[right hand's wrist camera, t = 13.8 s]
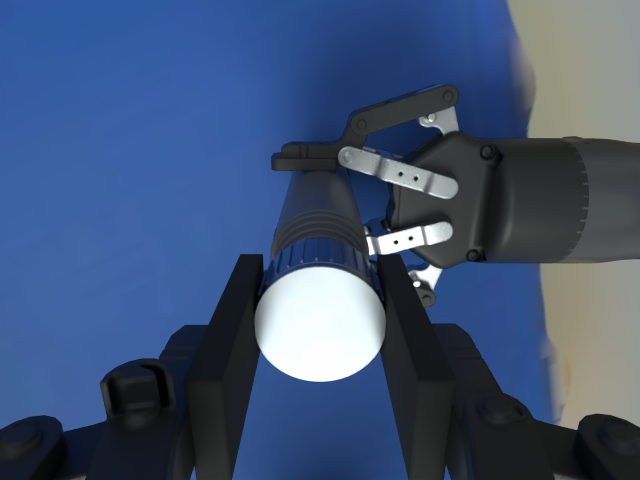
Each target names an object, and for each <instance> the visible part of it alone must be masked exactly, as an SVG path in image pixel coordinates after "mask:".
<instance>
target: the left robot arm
mask: <svg viewBox="0 0 640 480" xmlns="http://www.w3.org/2000/svg"><path fill="white" fill-rule="evenodd" d="M458 99H459V92H458V90H457V88H456V87H454V86H453V85H442V84H435V85H432V86H429V87H426V88H423V89H420V90H416V91H413V92H410V93H407V94H404V95H401V96H398V97H395V98H392V99H389V100H386V101H383V102H380V103H377V104H374V105H371V106H368V107H365V108H361V109H358V110H355V111H353V112H352V113H351V114H350V115H349V117H348V122H347V125H346V127H345V130H344V132H343V135H342V136H341V137H340V138H339V139H338V140H336V141H333V142H290V143H287V144H285V145H283V146H282V148H281V152H279V153H274V154H273V155H272V157H271V166H272V170H275V171H336V166H343V167H345V168H348V169H352V170H355V171H358V172H362V173H365V174H369V175H372V176H374V177H376V178H378V179H381V180H384V181H387V182H388V188H389V193H390V200H389V203H388V206H387V209H386V216H382V217H378V218H375V219H372V220H370V221H368V222H367V223H365V224H363V228H364V231H365V235H366V238H367V241H368V246H369V254H370V255H373V254H377V255H378V254H390V253H394V252H398V251H401V250H405V249H409V250H410V251H412V252H413V253H415V254H416V255H417V256H419V257H420V258H422V259H423V260H424V261H425V262H424V263H423V264H421V265H408V266H407V267H406V269H407V271H408V274H409V276H410V278H411V280H412V282H413V285H414V287H415V289H416V291H417V293H418V296H419V298H420V300H421V302H422V304H423V307H424V308H427V307H430V306H432V305H433V304H434V303H435V301H436V297H435V294H434V292H433V289H434V287H435V285H436V283H437V281H438V278H439V276H440V274H441V272H442V270H443V269H447V268H451V267H453V266H455V265H457V264H460V263H463V262H479V263H602V262H610V261H617V260H627V259H640V143H631V142H624V141H617V140H610V139H593V138H586V139H585V138H580V137H576V136H572V137H563V138H475V137H472V136H470V135H469V134H467V133H465V132H463V131H460V130H459V128H458V122H457V117H456V112H455V107H454V105H455V104H456V103H457V101H458ZM414 119H416V122H417V123H418V124H420V125H422V126H424V127H436V128H437V129H438V131H439V134H437V135H436V136H434V137H433V138H431V139H430V140H428V141H427V142H425V143H424V144H423V145H421V146H420V147H418V148H417V149H415V150H414V151H412V152H411V153H409V154H408V155H407V156H405V157H404V156H400V155H397V154H394V153H390V152H387V151H384V150H380V149H374V148H370V147H367V146H364V143H365V141H366V138H367V136H368V134H370V133H373V132H376V131H380V130H383V129H386V128H389V127H392V126H395V125H398V124H401V123H405V122H408V121H411V120H414ZM387 225H388V226H387ZM276 229H277V228H276ZM275 232H276V230H275ZM274 236H275V233H274ZM395 240H396V241H395ZM369 263H370V265H373V267H374V271H375V274H376V275H377V261H374V260H370V259H369Z"/></svg>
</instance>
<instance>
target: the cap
mask: <svg viewBox="0 0 640 480" xmlns="http://www.w3.org/2000/svg"><path fill="white" fill-rule="evenodd" d="M258 296H259V297H258V300H257V304H256V308H255V312H254V325H255V339H256V342H257V344H258V346H259V348H260V350H261V352H262V353H263V355H264V356H265V357H266V359H267V360H268V361H269V362H270V363H271V364H272V365H274V366H275V367H276V368H277V369H279V370H280V371H282V372H284V373H285V374H288V375H290V376H292V377H295V378H298V379H301V380H306V381H313V382H327V381H334V380H339V379H343V378H345V377H348V376H351V375H353V374H355V373H357V372H358V371H360V370H361V369H363V368H364V367H365V366H367V365H368V364H369V363H370V362H371V361H372V360H373V359H374V358H375V356H376V355H377V354H378V352H379V351H380V349H381V347H382V345H383V342H384V340H385V329H386V311H385V307H384V304H383V302H385V300H384V296H383V293H382V290H381V286H380V283H379V279H378V276H377V275H376V274H375V271H374V267H373V265H370V263H369V262H368V260H367V259H366V256H365V255H362V254H361V253H360V252H359V251H357V250H356V248H355V247H354V248H353V247H351V246H350V245H348V244H346V243H344V242H343V241H342V242H340V241H337V240H333V239H331V238H329V239H326V238H314V239H307V240H305V239H304V240H302V241H300V242H297V243H295V244H290V246H289V247H287V248H285V249H284V250H283V251H280V252H279V254H278V255H277V256H276V257H275V258H274V259H273V260H271V261H270V265H269V267H268V269H267V270H265V271H264V274H263V278H262V281H261V285H260V288H259V292H258Z"/></svg>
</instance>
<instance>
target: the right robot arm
mask: <svg viewBox="0 0 640 480" xmlns="http://www.w3.org/2000/svg"><path fill="white" fill-rule="evenodd" d="M263 274H264V270H263V254H240V257H239V259H238V261H237V263H236V265H235V268H234V270H233V272H232V274H231V276H230V279H229V281H228V283H227V285H226V287H225V290H224V292H223V294H222V296H221V298H220V301H219V303H218V305H217V307H216V309H215V312H214V314H213V316H212V318H211V321H210V323H209V325H184V326H183V327H182V328H181V329H179V330H178V331H177V332H175V333H174V334H173V335H172V336H171V337H170V339H169V341H168V343H167V344H166V346H165V350H163V351H162V353H161V355H160V356H159V360H158V359H138V360H134V361H129V362H127V363H124V364H122V365H120V366H118V367H116V368H114V369H113V370H112V371H110V372H109V373H108V374H106V375H105V377H104V378H103V379H102V381H101V382H100V387H101V392H102V396H103V401H104V405H105V410H106V414H107V419H106V421H104V422H101V423H98V424H94V425H91V426H87V427H82V428H78V429H74V430H69V431H65V432H63V428H62V424H61V423H60V422H59V421H58V420H57V419H56V418H55V417H50V416H45V415H43V416H33V417H28V418H25V419H22V420H19V421H16V422H14V423H12V424H10V425H8V426H6V427H4V428H3V429H1V430H0V480H190V477H191V474H192V471H193V468H194V465H195V472H196V479H197V480H232V477H233V472H234V467H235V463H236V458H237V454H238V449H239V445H240V440H241V436H242V431H243V427H244V422H245V417H246V413H247V408H248V404H249V399H250V395H251V390H252V386H253V381H254V377H255V372H256V367H257V363H258V358H259V354H260V348H259V346H258V344H257V342H256V339H255V325H254V312H255V308H256V304H257V300H258V297H259V296H258V292H259V288H260V285H261V281H262V278H263ZM377 276H378V279H379V283H380V286H381V290H382V293H383V296H384V300H385V302H383V304H384V307H385V311H386V329H385V340H384V342H383V345H382V347H381V349H380V353H381V357H382V362H383V366H384V371H385V375H386V380H387V384H388V389H389V394H390V398H391V403H392V407H393V412H394V416H395V421H396V425H397V430H398V434H399V439H400V444H401V448H402V453H403V457H404V462H405V466H406V471H407V475H408V480H444V474H445V466H446V465H447V468H448V471H449V475H450V478H451V480H640V427H638V426H636V425H634V424H632V423H630V422H628V421H627V420H624V419H621V418H618V417H615V416H612V415H605V414H592V415H588V416H585V417H584V418H583V419H582V420H581V421H580V422H579V425H578V429H577V430H574V429H569V428H565V427H561V426H557V425H552V424H548V423H545V422H542V421H538V420H536V419H534V418H533V416H532V415H531V413H530V412H529V410H528V408H527V407H526V406H524V405H523V404H522V403H521V402H520V401H518V400H517V399H515V398H513V397H511V396H509V395H507V394H505V393H503V392H502V390H501V389H500V387H499V385H498V383H497V382H496V380H495V378H494V377H493V375H492V373H491V371H490V370H489V368H488V366H487V365H486V363H485V361H484V359H482V356H481V354H480V353H479V351H478V349H477V348H476V346H475V344H474V342H473V340H472V339H471V337H470V335H469V334H468V333H467V332H465V331H464V330H463V329H462V328H460V327H459V326H458V325H456V324H431V322H430V320H429V318H428V316H427V313H426V311H425V309H424V307H423V304H422V302H421V300H420V298H419V296H418V293H417V291H416V289H415V287H414V285H413V282H412V280H411V278H410V276H409V274H408V271H407V269H406V267H405V265H404V263H403V260H402V258H401V256H400V254H378V256H377Z"/></svg>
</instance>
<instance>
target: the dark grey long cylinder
mask: <svg viewBox="0 0 640 480" xmlns="http://www.w3.org/2000/svg"><path fill="white" fill-rule="evenodd" d="M314 238H326V239H329V238H331V239H333V240H337V241H340V242H342V241H343V242H344V243H346V244H348V245H350V246H351V247H353V248H354V247H355V248H356V250H357V251H359V252H360V253H361V254H362V255H365V256H366V259H367V260H368V262H369V256H370V254H369V246H368V241H367V238H366V235H365V231H364V228H363V224H362V221H361V217H360V214H359V211H358V207H357V204H356V200H355V197H354V194H353V190H352V187H351V183H350V180H349V176H348V173H347V170H346V168H345V167H343V166H336V171H293V174H292V177H291V181H290V184H289V188H288V191H287V195H286V198H285V201H284V205H283V208H282V212H281V215H280V219H279V222H278V225H277V229H276V232H275V236H274V239H273V243H272V246H271V260H273V259H274V258H275V257H276V256H277V255H278V254H279V252H280V251H283V250H284V249H285V248H287V247H289V246H290V244H295V243H297V242H300V241H302V240H304V239H305V240H307V239H314Z"/></svg>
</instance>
